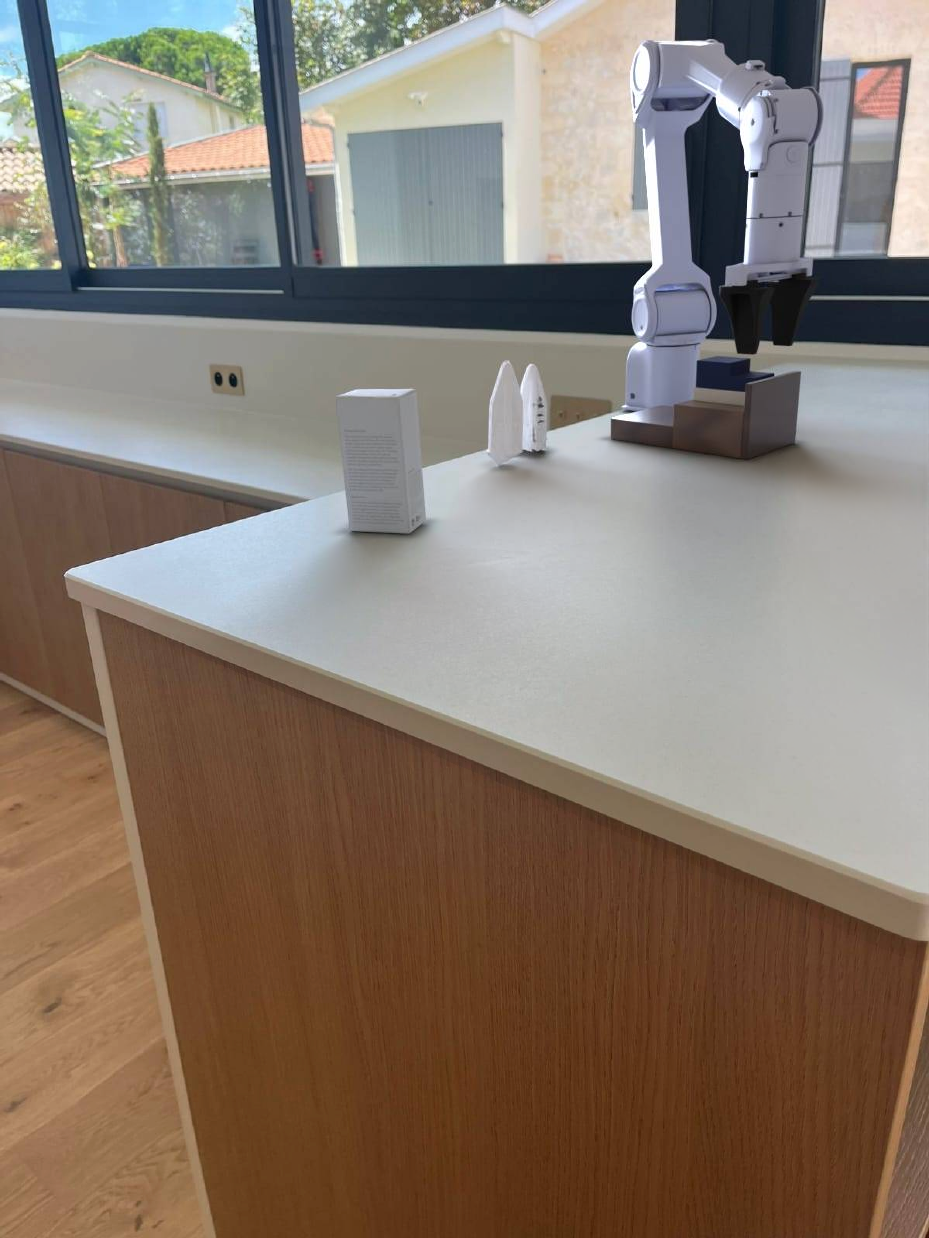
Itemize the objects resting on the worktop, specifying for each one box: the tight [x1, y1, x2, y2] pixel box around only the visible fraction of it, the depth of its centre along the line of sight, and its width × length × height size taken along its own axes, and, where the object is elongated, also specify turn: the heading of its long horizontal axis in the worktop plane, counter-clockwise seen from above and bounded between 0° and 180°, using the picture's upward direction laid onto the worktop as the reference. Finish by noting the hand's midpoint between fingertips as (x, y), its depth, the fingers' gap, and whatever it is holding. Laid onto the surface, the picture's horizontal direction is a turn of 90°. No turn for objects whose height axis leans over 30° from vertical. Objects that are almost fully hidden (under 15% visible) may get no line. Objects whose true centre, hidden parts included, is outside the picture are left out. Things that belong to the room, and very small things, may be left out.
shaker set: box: [486, 360, 548, 466], centre depth 106 cm, size 12×4×11 cm, turn 152°
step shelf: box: [610, 370, 802, 460], centre depth 110 cm, size 19×10×8 cm, turn 43°
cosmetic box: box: [334, 388, 427, 534], centre depth 83 cm, size 6×4×12 cm
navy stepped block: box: [693, 355, 775, 406], centre depth 106 cm, size 8×4×4 cm, turn 43°
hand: (765, 349), depth 106 cm, fingers open, 7 cm apart
